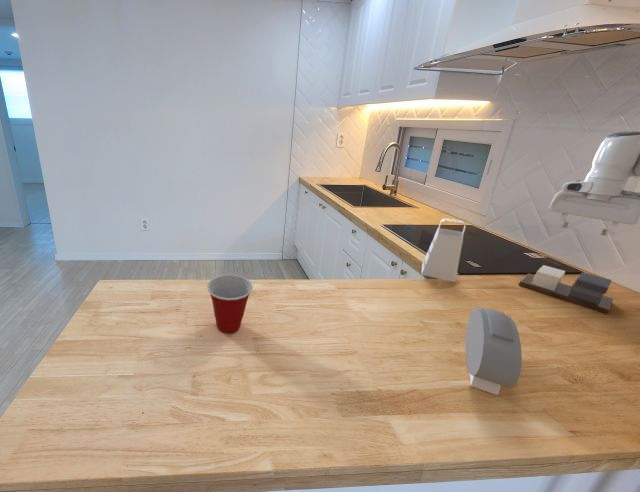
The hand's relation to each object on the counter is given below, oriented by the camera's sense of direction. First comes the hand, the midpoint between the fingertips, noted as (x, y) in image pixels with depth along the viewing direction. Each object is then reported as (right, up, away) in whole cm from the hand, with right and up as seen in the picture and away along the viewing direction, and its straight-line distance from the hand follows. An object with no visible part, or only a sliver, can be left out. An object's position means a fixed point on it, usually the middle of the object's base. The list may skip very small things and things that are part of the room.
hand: (583, 230), depth 107 cm
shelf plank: (-2, -21, +5) cm, 21 cm away
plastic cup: (-113, -26, -24) cm, 119 cm away
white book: (-5, -15, +7) cm, 17 cm away
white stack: (-5, -18, +8) cm, 20 cm away
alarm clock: (-56, -33, -32) cm, 73 cm away
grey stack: (+2, -21, +1) cm, 21 cm away
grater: (-38, -15, +15) cm, 43 cm away
